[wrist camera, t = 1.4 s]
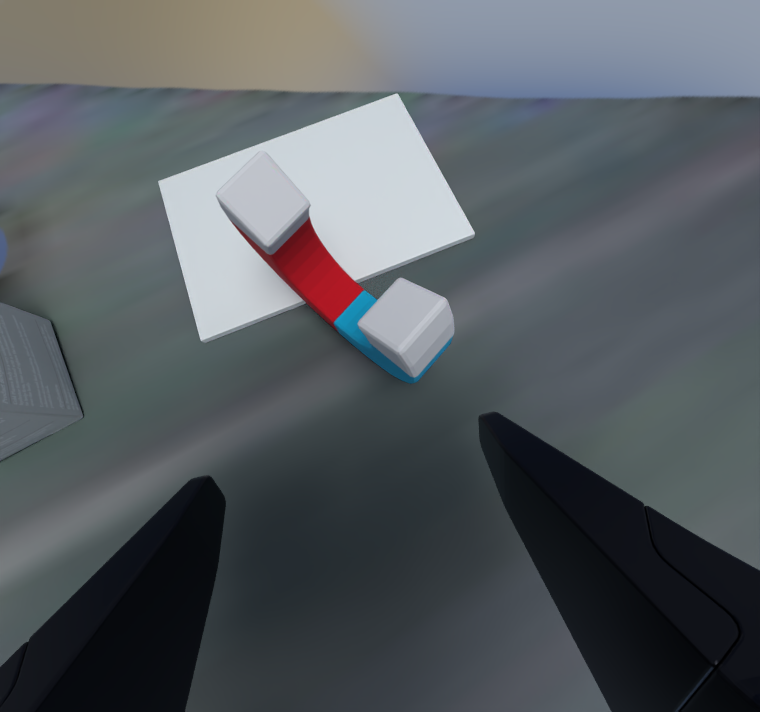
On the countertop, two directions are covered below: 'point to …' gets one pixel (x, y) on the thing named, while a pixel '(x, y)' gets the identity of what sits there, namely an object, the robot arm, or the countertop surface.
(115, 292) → the countertop surface
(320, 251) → the magnet
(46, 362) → the skincare box
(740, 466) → the countertop surface
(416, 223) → the white paper sheet
